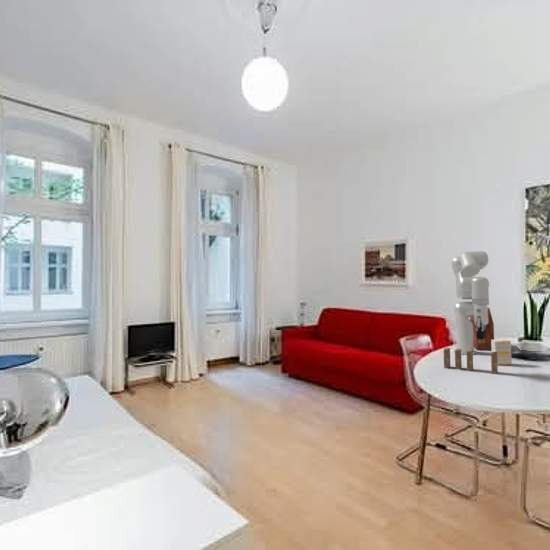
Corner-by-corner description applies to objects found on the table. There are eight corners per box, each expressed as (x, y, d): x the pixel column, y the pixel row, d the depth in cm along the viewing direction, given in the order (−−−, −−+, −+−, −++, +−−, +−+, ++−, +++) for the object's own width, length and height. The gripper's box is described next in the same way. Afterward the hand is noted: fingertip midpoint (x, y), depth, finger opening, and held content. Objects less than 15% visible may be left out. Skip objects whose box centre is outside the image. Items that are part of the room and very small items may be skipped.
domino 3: (467, 370, 197) (466, 351, 197) (469, 368, 201) (468, 349, 201) (471, 371, 196) (470, 351, 196) (473, 369, 200) (472, 349, 200)
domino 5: (491, 373, 190) (491, 353, 190) (493, 371, 194) (492, 351, 194) (496, 374, 189) (495, 353, 189) (497, 371, 193) (497, 352, 193)
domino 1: (444, 368, 203) (443, 349, 203) (446, 366, 207) (445, 347, 207) (448, 368, 202) (447, 349, 202) (450, 366, 206) (449, 347, 206)
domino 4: (478, 343, 193) (477, 323, 193) (480, 341, 197) (479, 322, 197) (482, 343, 192) (482, 323, 192) (484, 341, 196) (484, 322, 196)
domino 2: (455, 369, 200) (454, 350, 200) (457, 367, 204) (457, 348, 204) (459, 369, 199) (459, 350, 199) (461, 367, 203) (461, 348, 203)
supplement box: (507, 363, 210) (506, 339, 210) (511, 365, 205) (511, 340, 205) (491, 363, 211) (490, 339, 211) (495, 365, 206) (495, 340, 206)
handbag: (487, 345, 261) (485, 293, 262) (494, 350, 243) (492, 295, 243) (470, 345, 264) (468, 294, 265) (476, 350, 246) (474, 295, 246)
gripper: (486, 303, 186) (487, 341, 186) (491, 301, 199) (492, 336, 199) (468, 303, 190) (469, 340, 190) (475, 300, 204) (476, 335, 204)
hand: (481, 337), depth 195 cm, fingers closed on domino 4, 4 cm apart
